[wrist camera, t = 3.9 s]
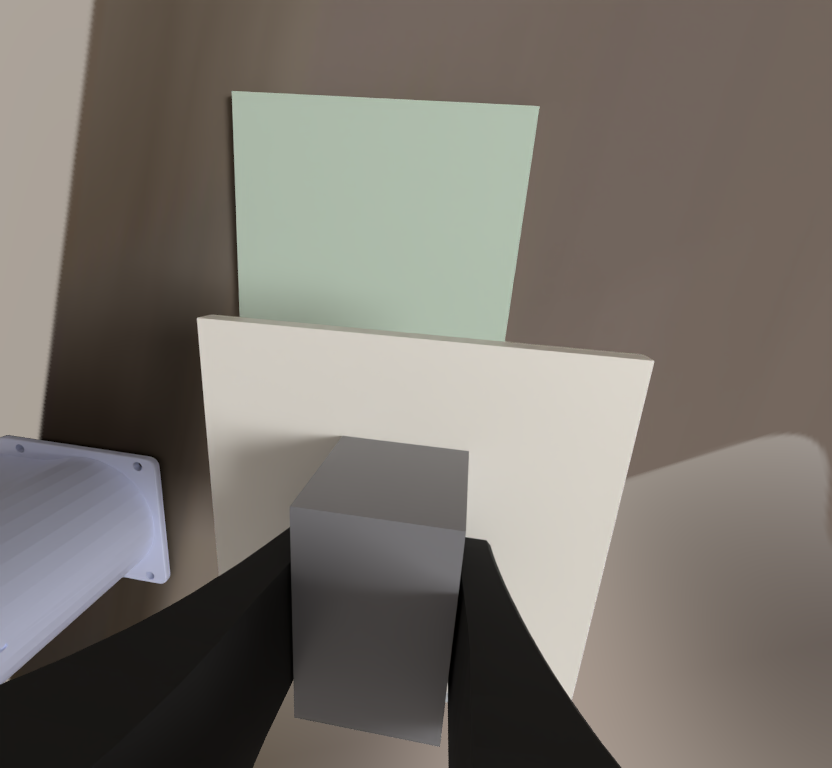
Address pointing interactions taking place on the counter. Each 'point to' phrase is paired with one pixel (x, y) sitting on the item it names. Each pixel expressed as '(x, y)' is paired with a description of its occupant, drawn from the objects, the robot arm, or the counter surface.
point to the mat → (380, 211)
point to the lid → (414, 495)
